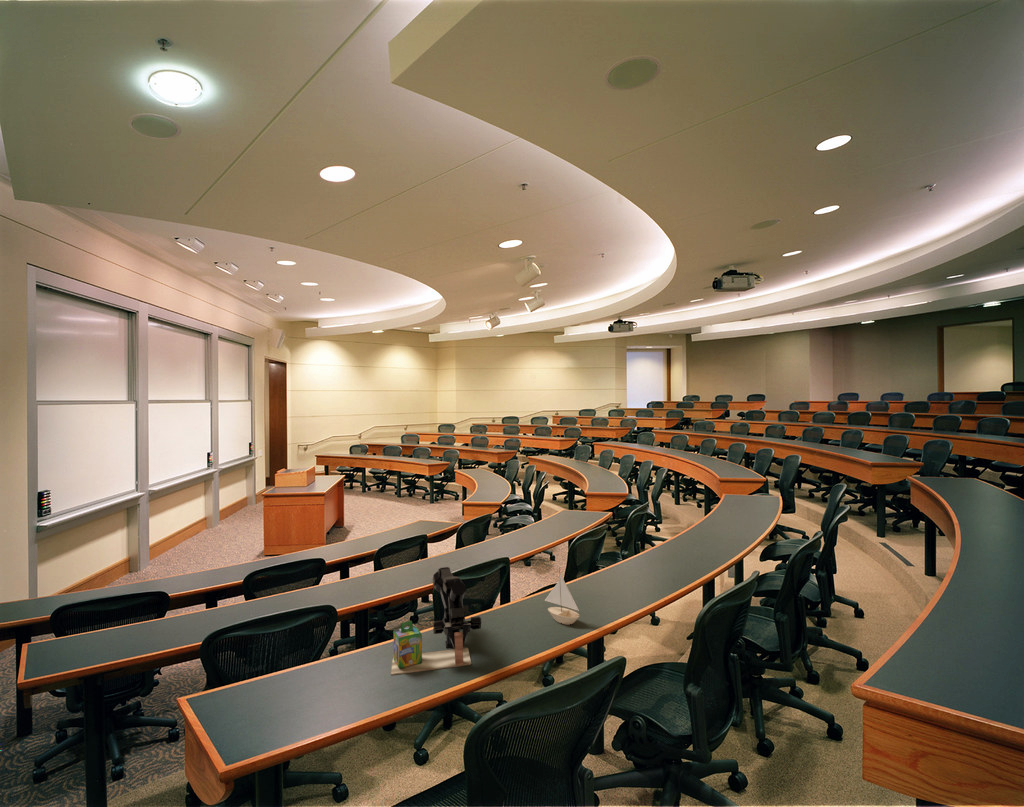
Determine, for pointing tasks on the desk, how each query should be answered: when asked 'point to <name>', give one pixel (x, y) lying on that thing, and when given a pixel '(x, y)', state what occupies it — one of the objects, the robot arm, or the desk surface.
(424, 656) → the birch strip
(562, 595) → the toy sailboat
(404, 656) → the chalk box
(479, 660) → the desk surface
